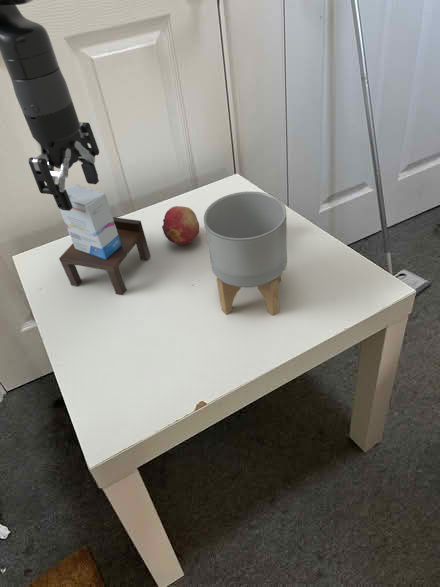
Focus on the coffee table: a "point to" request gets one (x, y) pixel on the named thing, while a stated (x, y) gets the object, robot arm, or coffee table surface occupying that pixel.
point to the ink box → (91, 222)
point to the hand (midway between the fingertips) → (80, 195)
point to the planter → (247, 245)
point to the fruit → (180, 225)
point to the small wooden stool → (128, 236)
